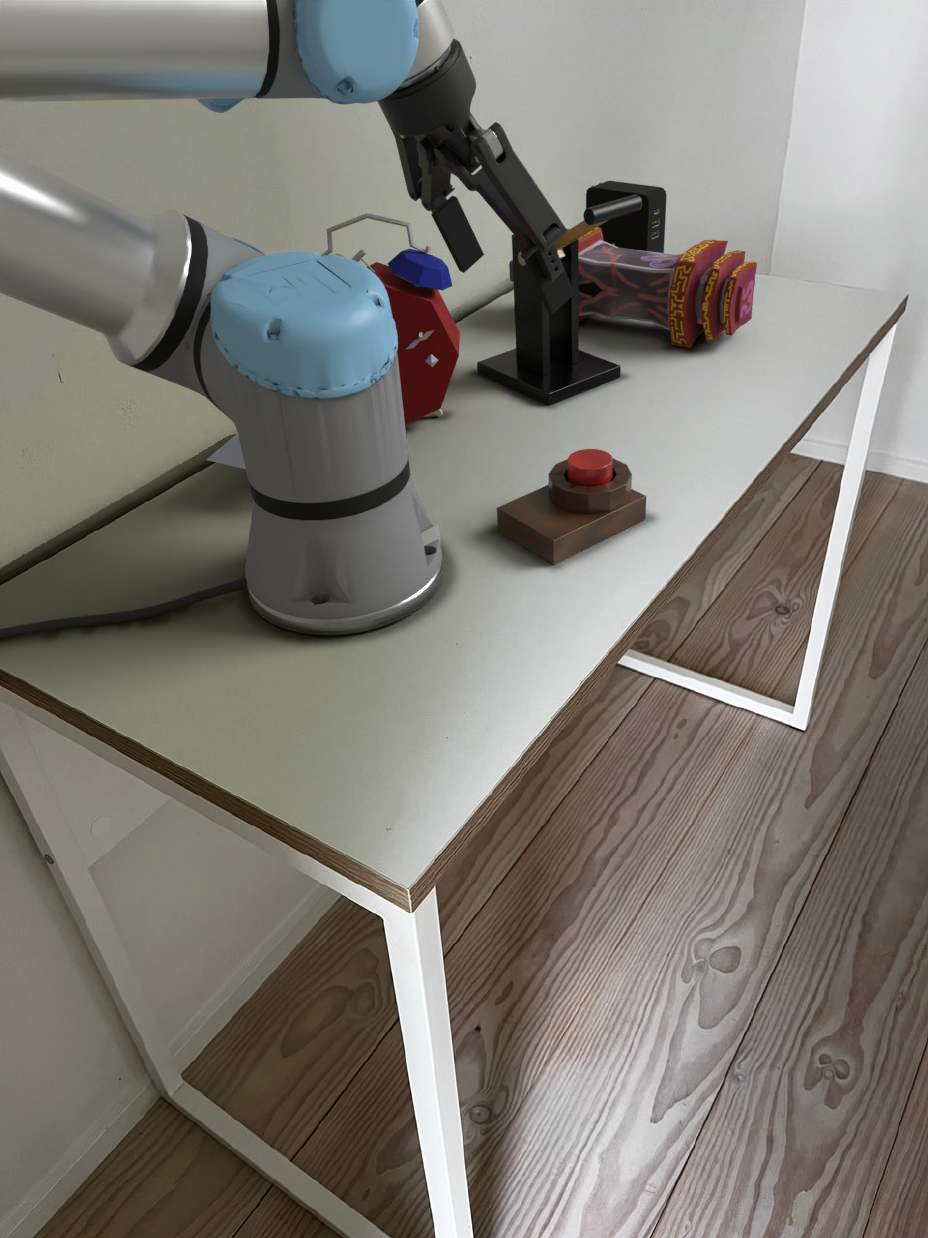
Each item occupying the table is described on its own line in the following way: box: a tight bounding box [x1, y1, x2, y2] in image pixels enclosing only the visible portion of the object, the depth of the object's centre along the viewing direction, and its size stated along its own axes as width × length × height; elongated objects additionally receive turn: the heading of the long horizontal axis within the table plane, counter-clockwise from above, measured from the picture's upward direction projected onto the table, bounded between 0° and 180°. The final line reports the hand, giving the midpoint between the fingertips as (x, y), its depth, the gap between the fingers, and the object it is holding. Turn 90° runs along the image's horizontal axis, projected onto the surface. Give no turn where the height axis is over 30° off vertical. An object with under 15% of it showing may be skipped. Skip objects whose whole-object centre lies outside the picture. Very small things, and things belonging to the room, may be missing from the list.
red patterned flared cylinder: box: [508, 227, 758, 349], centre depth 115 cm, size 10×9×30 cm
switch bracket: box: [476, 228, 622, 406], centre depth 103 cm, size 12×10×15 cm
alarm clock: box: [320, 212, 461, 426], centre depth 94 cm, size 15×9×20 cm, turn 89°
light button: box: [566, 448, 614, 487], centre depth 80 cm, size 4×4×2 cm
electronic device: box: [585, 180, 667, 253], centre depth 133 cm, size 4×10×10 cm, turn 47°
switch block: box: [496, 457, 647, 565], centre depth 80 cm, size 10×7×4 cm
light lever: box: [554, 195, 642, 259], centre depth 95 cm, size 13×6×2 cm, turn 37°
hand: (514, 282), depth 91 cm, fingers open, 13 cm apart
